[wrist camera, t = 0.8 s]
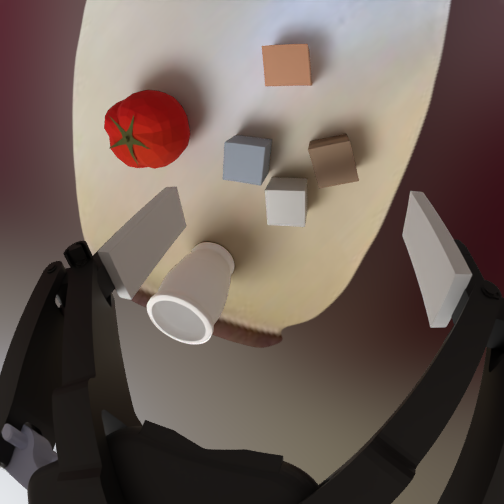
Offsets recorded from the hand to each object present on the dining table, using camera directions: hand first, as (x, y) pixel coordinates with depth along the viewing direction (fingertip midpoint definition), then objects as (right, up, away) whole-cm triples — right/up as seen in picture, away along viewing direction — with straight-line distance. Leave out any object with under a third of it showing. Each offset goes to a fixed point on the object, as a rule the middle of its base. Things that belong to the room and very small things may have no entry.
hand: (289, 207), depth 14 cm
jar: (-9, -4, +35) cm, 36 cm away
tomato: (-15, +17, +22) cm, 31 cm away
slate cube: (-2, +11, +22) cm, 25 cm away
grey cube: (+3, +6, +24) cm, 25 cm away
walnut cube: (+9, +10, +19) cm, 24 cm away
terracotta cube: (+3, +21, +14) cm, 25 cm away
